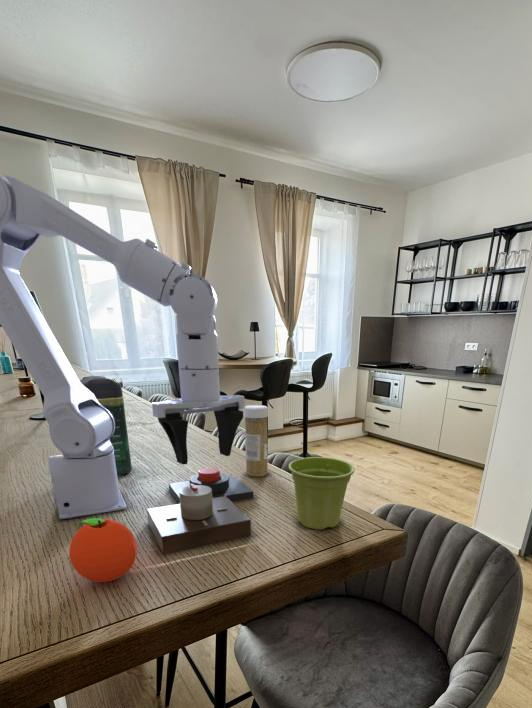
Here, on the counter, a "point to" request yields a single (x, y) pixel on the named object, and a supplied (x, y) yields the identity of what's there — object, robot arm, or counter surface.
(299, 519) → the plant pot
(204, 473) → the switch button
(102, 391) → the coffee jar
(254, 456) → the spice jar
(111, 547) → the clementine
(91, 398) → the robot arm
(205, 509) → the dial
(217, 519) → the dimmer plate
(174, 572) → the counter surface
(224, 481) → the switch block
